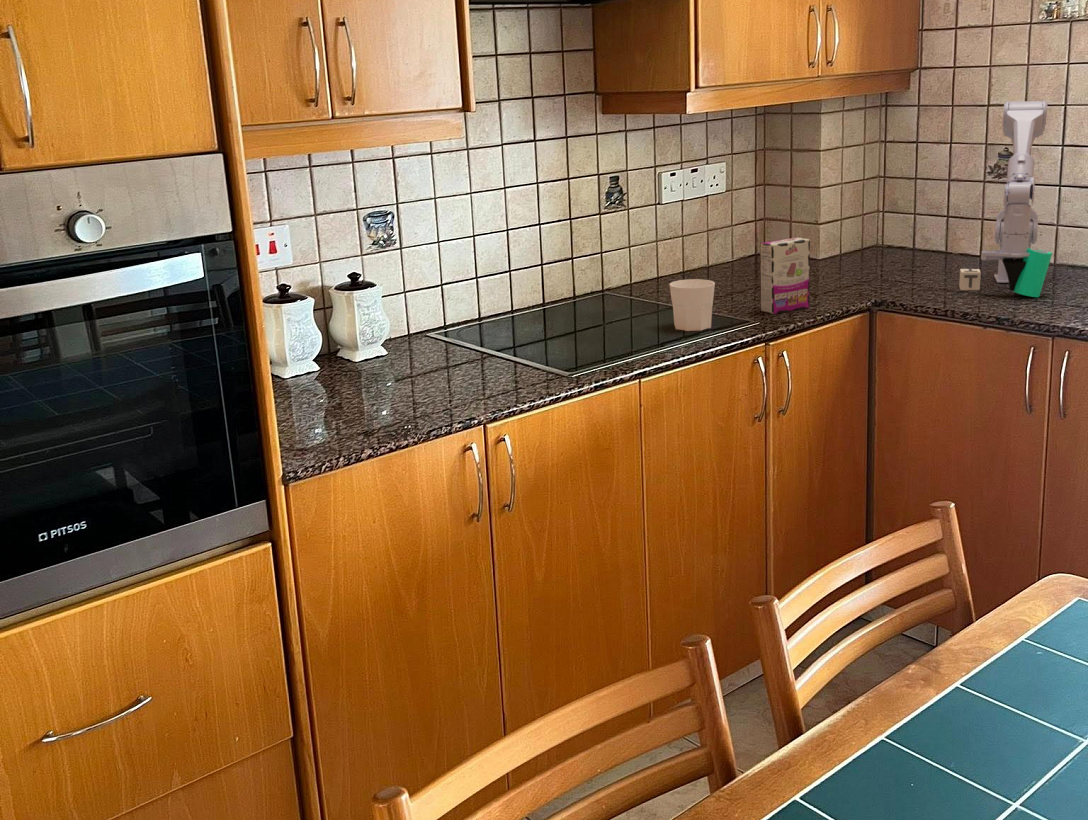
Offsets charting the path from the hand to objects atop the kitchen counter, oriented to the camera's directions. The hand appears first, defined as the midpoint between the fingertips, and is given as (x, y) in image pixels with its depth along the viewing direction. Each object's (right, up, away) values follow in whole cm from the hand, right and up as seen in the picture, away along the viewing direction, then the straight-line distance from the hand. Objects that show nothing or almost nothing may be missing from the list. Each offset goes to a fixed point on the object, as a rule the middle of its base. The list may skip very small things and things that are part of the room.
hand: (1011, 290), depth 277 cm
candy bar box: (-55, -5, -2) cm, 55 cm away
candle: (+3, -1, -1) cm, 3 cm away
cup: (-78, -10, -14) cm, 80 cm away
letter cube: (-6, +2, +11) cm, 13 cm away
